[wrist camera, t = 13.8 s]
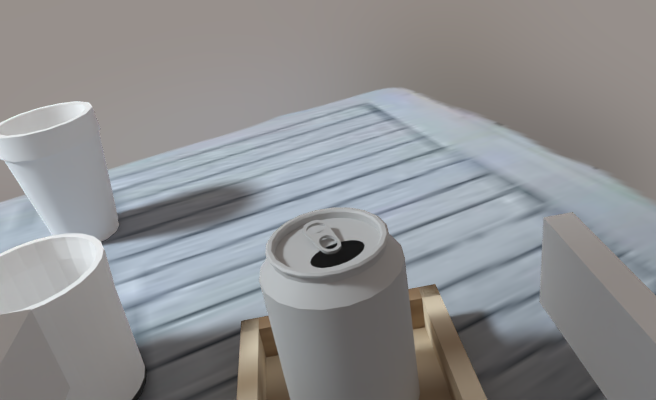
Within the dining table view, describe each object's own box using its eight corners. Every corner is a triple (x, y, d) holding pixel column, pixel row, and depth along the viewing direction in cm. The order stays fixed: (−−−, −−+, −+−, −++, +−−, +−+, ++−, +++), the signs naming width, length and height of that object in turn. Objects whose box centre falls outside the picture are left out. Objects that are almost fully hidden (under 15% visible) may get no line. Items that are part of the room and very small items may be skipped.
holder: (501, 468, 29) (500, 428, 28) (245, 518, 29) (231, 480, 28) (438, 318, 40) (435, 284, 39) (251, 354, 40) (241, 320, 39)
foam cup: (60, 219, 65) (13, 111, 59) (141, 204, 65) (102, 95, 59) (29, 266, 57) (-30, 145, 51) (121, 249, 57) (74, 126, 51)
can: (334, 485, 30) (292, 301, 24) (275, 396, 36) (229, 233, 30) (448, 414, 32) (433, 235, 27) (375, 343, 38) (350, 184, 33)
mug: (179, 376, 39) (132, 252, 35) (61, 475, 34) (-15, 342, 29) (95, 326, 46) (45, 216, 41) (-16, 402, 40) (-88, 284, 35)
